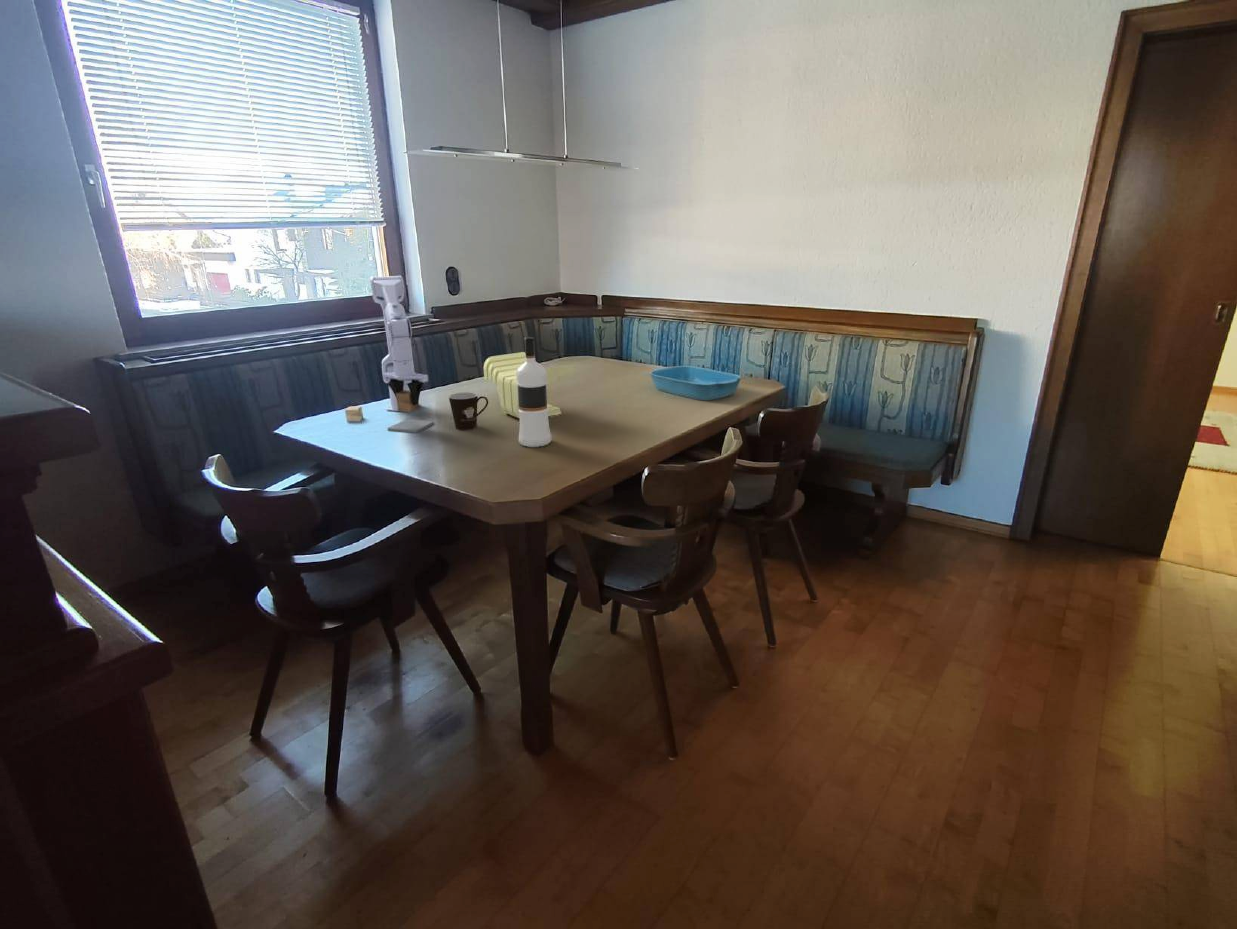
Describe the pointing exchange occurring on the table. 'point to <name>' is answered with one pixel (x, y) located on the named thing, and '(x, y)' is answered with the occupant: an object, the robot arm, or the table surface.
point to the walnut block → (405, 401)
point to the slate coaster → (411, 426)
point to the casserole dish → (695, 382)
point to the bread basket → (506, 381)
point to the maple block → (354, 413)
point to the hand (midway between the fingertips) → (408, 403)
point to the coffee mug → (465, 409)
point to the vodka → (532, 400)
